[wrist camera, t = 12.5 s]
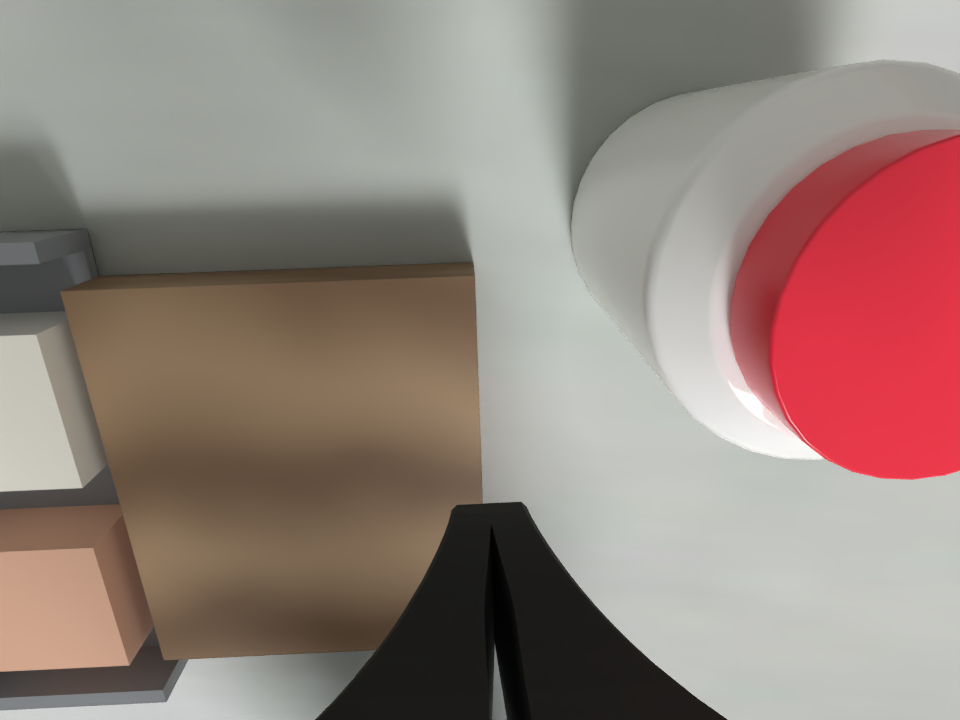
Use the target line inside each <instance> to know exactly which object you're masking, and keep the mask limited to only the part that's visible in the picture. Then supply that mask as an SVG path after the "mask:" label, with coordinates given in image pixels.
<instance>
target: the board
mask: <svg viewBox="0 0 960 720" xmlns="http://www.w3.org/2000/svg"><path fill="white" fill-rule="evenodd" d="M60 293H61V297H62V300H63V304H64V307H65V311H66V315H67V318H68V322H69V325H70V329H71V332H72V336H73V339H74V343H75V347H76V350H77V354H78V357H79V361H80V364H81V368H82V371H83V375H84V378H85V382H86V386H87V389H88V393H89V396H90V400H91V403H92V407H93V410H94V414H95V418H96V421H97V425H98V428H99V432H100V435H101V439H102V442H103V446H104V450H105V453H106V457H107V460H108V464H109V467H110V471H111V474H112V478H113V482H114V485H115V489H116V492H117V496H118V499H119V503H120V506H121V510H122V513H123V517H124V521H125V524H126V528H127V531H128V535H129V538H130V542H131V545H132V549H133V553H134V556H135V560H136V563H137V567H138V570H139V574H140V577H141V581H142V585H143V588H144V592H145V595H146V599H147V602H148V606H149V609H150V613H151V616H152V620H153V624H154V627H155V631H156V634H157V638H158V641H159V645H160V648H161V652H162V656H163V659H164V660H180V659H201V658H222V657H242V656H263V655H283V654H304V653H325V652H345V651H366V650H377V649H378V647H379V646H380V645H381V643H382V642H383V641H384V639H385V638H386V637H387V635H388V634H389V632H390V631H391V630H392V628H393V627H394V625H395V624H396V622H397V621H398V619H399V618H400V616H401V615H402V613H403V612H404V610H405V608H406V607H407V605H408V603H409V602H410V600H411V598H412V597H413V595H414V593H415V592H416V590H417V588H418V586H419V585H420V583H421V581H422V580H423V578H424V576H425V574H426V572H427V570H428V568H429V566H430V564H431V562H432V560H433V558H434V556H435V554H436V552H437V550H438V547H439V545H440V543H441V540H442V538H443V536H444V533H445V531H446V528H447V525H448V522H449V518H450V514H451V510H452V509H453V508H454V507H455V506H456V505H464V504H483V500H482V471H481V442H480V414H479V385H478V356H477V327H476V298H475V274H474V264H473V262H468V263H441V264H414V265H387V266H360V267H333V268H306V269H279V270H252V271H225V272H198V273H171V274H144V275H117V276H98V277H95V278H93V279H90V280H88V281H85V282H83V283H80V284H77V285H75V286H72V287H70V288H67V289H65V290H62V291H60Z"/></svg>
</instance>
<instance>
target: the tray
mask: <svg viewBox="0 0 960 720" xmlns="http://www.w3.org/2000/svg"><path fill="white" fill-rule="evenodd" d="M98 276H99V275H98V271H97V268H96V264H95V260H94V256H93V252H92V248H91V244H90V240H89V236H88V232H87V229H65V230H37V231H9V232H0V314H5V313H32V312H58V311H65V307H64V304H63V300H62V297H61V293H60V291H62V290H65V289H67V288H70V287H72V286H75V285H77V284H80V283H83V282H85V281H88V280H90V279H93V278H95V277H98ZM112 504H120V503H119V499H118V496H117V492H116V489H115V485H114V482H113V478H112V474H111V471H110V467H109V464H108V465H107V466H106V467H105V468H103V469H102V470H101V471H100V472H99V473H98V474H97V475H96V476H95V477H94V478H93V479H92V480H91V481H90V482H89V483H87V484H86V485H85V486H84V487H83V488H73V489H49V490H26V491H3V492H0V509H21V508H43V507H66V506H89V505H112ZM187 661H188V659H180V660H164V659H163V656H162V652H161V648H160V645H159V641H158V638H157V634H156V631H155V627H153V628H152V630H151V632H150V633H149V635H148V636H147V638H146V640H145V641H144V643H143V644H142V646H141V648H140V649H139V651H138V652H137V654H136V656H135V657H134V659H133V660H132V662H131V664H130V665H129V666H108V667H88V668H67V669H47V670H26V671H5V672H0V710H17V709H37V708H57V707H77V706H97V705H117V704H137V703H157V702H167V700H168V698H169V696H170V694H171V692H172V690H173V688H174V686H175V684H176V682H177V680H178V679H179V677H180V675H181V673H182V671H183V669H184V667H185V665H186V663H187Z"/></svg>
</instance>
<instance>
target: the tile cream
mask: <svg viewBox="0 0 960 720" xmlns="http://www.w3.org/2000/svg"><path fill="white" fill-rule="evenodd" d="M107 465H108V460H107V457H106V453H105V450H104V446H103V442H102V439H101V435H100V432H99V428H98V425H97V421H96V418H95V414H94V410H93V407H92V403H91V400H90V396H89V393H88V389H87V386H86V382H85V378H84V375H83V371H82V368H81V364H80V361H79V357H78V354H77V350H76V347H75V343H74V339H73V336H72V332H71V329H70V325H69V322H68V318H67V315H66V311H58V312H32V313H5V314H0V492H3V491H26V490H49V489H73V488H83V487H84V486H85V485H86V484H87V483H89V482H90V481H91V480H92V479H93V478H94V477H95V476H96V475H97V474H98V473H99V472H100V471H101V470H102V469H103V468H105V467H106V466H107Z"/></svg>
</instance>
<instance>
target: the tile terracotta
mask: <svg viewBox="0 0 960 720" xmlns="http://www.w3.org/2000/svg"><path fill="white" fill-rule="evenodd" d="M153 627H154V624H153V620H152V616H151V613H150V609H149V606H148V602H147V599H146V595H145V592H144V588H143V585H142V581H141V577H140V574H139V570H138V567H137V563H136V560H135V556H134V553H133V549H132V545H131V542H130V538H129V535H128V531H127V528H126V524H125V521H124V517H123V513H122V510H121V506H120V504H112V505H89V506H66V507H43V508H21V509H0V672H5V671H26V670H47V669H67V668H88V667H108V666H129V665H130V664H131V662H132V660H133V659H134V657H135V656H136V654H137V652H138V651H139V649H140V648H141V646H142V644H143V643H144V641H145V640H146V638H147V636H148V635H149V633H150V632H151V630H152V628H153Z"/></svg>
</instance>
